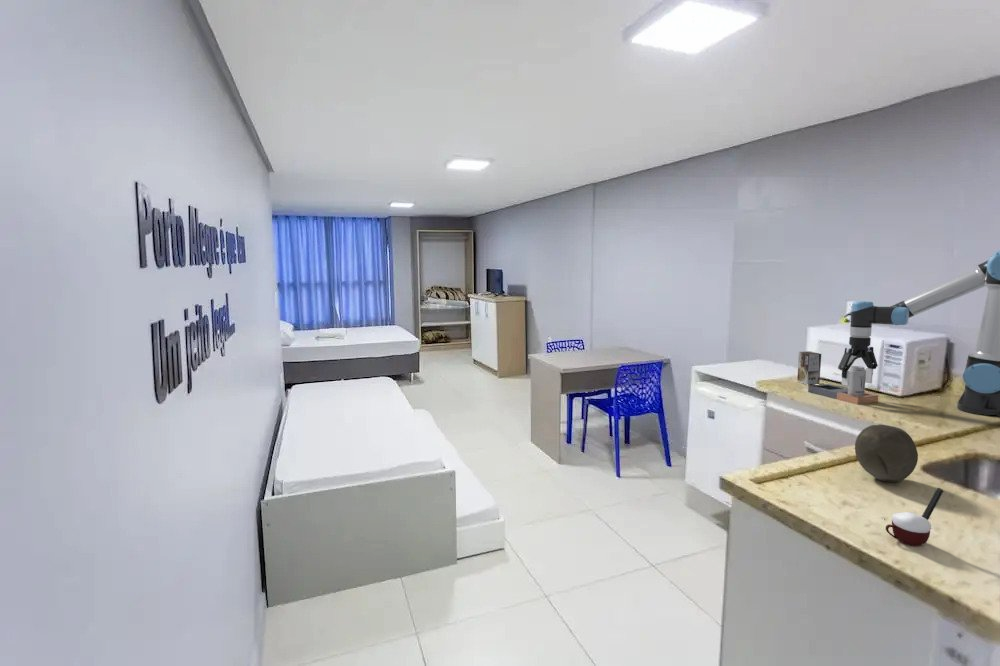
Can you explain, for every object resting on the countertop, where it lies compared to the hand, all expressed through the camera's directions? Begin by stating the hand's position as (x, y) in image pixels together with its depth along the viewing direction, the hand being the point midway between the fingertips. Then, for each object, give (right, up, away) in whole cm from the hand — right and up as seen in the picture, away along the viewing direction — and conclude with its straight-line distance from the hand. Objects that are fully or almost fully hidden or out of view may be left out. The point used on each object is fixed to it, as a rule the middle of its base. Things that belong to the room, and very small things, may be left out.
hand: (856, 384), depth 216 cm
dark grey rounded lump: (-52, -18, -81) cm, 98 cm away
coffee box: (0, -4, +35) cm, 35 cm away
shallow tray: (-2, -7, +7) cm, 10 cm away
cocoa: (-71, -22, -113) cm, 135 cm away
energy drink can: (0, -7, +1) cm, 8 cm away
